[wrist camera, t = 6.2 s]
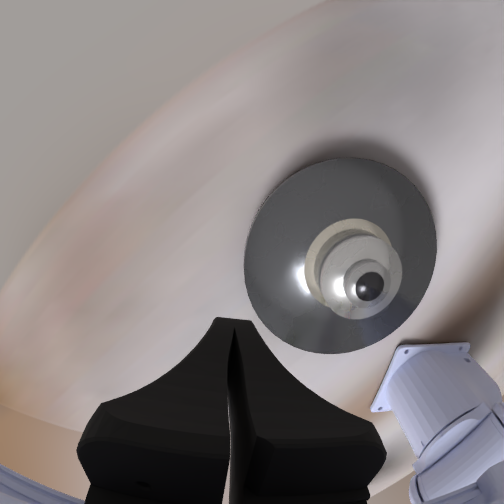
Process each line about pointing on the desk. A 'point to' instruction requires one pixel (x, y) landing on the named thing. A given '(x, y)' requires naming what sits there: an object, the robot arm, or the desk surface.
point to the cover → (357, 273)
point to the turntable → (317, 233)
